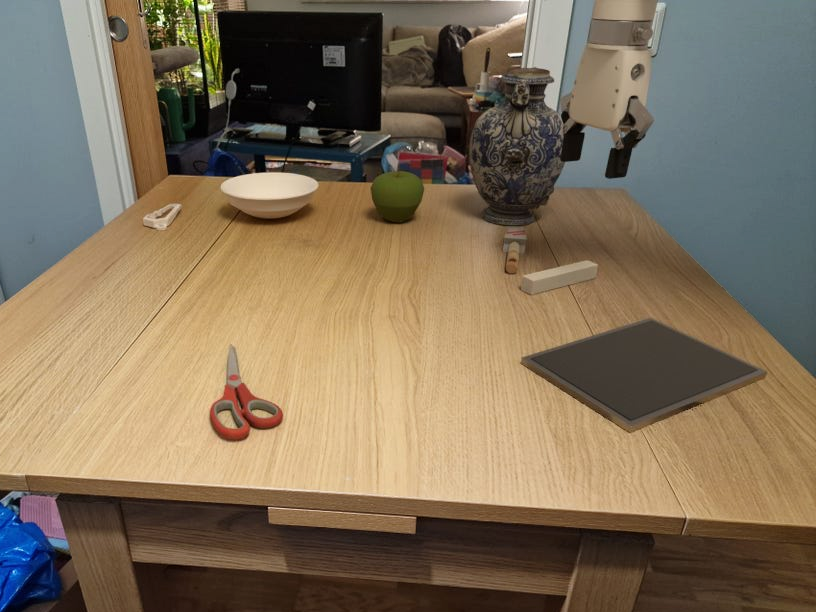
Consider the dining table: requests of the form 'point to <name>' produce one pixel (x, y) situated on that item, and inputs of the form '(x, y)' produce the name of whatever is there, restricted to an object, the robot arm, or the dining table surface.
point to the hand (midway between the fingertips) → (591, 168)
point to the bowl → (269, 193)
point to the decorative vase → (517, 149)
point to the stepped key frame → (162, 222)
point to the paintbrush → (514, 247)
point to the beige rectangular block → (558, 277)
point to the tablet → (642, 372)
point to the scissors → (246, 401)
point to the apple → (397, 195)
